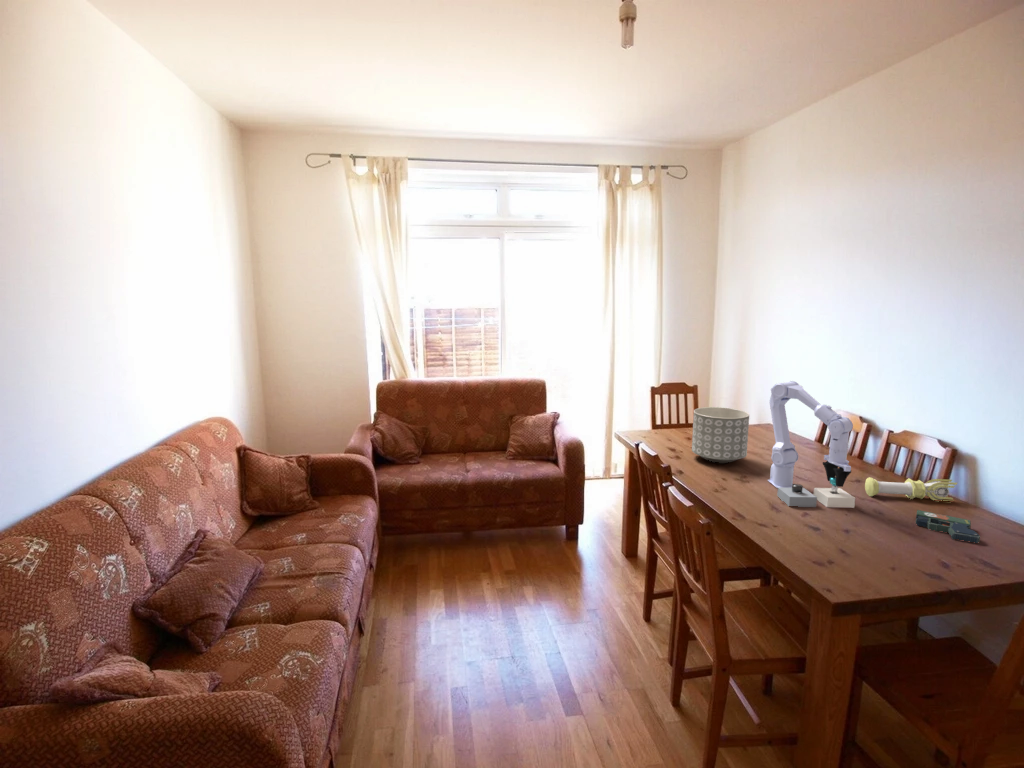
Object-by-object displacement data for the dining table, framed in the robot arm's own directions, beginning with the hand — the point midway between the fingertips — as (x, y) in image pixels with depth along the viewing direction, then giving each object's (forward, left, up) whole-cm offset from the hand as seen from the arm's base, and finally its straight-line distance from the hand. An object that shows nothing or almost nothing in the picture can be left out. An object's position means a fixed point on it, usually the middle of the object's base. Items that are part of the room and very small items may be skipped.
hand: (835, 483), depth 199 cm
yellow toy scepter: (-6, +32, -8) cm, 33 cm away
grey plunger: (0, -14, -7) cm, 16 cm away
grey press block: (0, -14, -8) cm, 16 cm away
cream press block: (0, 0, -8) cm, 8 cm away
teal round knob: (0, 0, -4) cm, 4 cm away
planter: (-53, -26, -8) cm, 60 cm away
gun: (+24, +24, -8) cm, 35 cm away
